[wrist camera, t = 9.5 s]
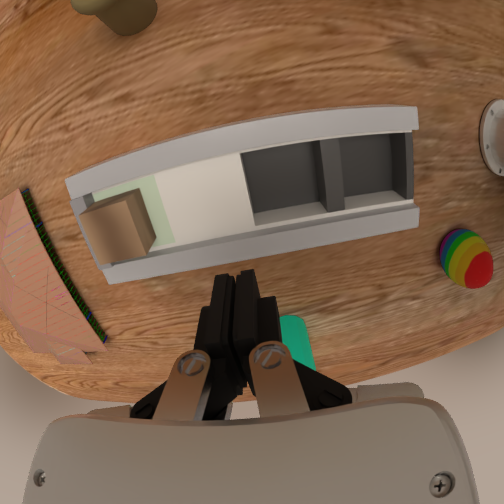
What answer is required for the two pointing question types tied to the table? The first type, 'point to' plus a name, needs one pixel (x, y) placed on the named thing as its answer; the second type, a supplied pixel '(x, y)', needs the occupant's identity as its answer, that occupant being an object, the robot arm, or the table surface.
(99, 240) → the walnut block
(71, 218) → the table surface
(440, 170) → the table surface
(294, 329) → the candle
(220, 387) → the robot arm
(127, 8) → the olive pawn
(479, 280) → the decorative egg
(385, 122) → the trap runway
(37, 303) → the house
